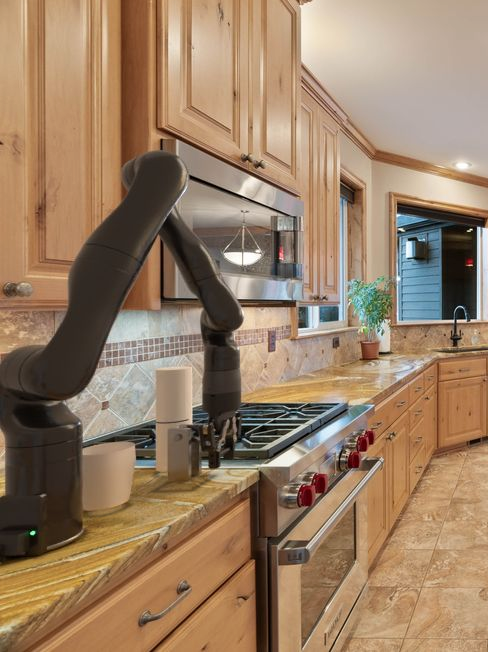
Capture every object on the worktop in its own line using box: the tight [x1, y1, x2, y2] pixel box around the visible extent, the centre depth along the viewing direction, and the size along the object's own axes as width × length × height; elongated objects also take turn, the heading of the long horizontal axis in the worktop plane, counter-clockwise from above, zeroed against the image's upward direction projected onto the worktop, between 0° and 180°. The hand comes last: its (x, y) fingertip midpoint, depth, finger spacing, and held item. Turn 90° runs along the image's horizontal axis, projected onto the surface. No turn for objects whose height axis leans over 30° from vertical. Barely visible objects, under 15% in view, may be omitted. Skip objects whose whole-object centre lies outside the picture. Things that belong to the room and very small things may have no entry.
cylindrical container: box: [155, 365, 193, 473], centre depth 112 cm, size 7×7×25 cm
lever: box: [181, 426, 232, 457], centre depth 105 cm, size 11×6×2 cm, turn 95°
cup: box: [83, 441, 137, 512], centre depth 91 cm, size 9×9×12 cm
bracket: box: [167, 423, 203, 483], centre depth 104 cm, size 8×9×13 cm
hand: (221, 463), depth 105 cm, fingers closed on lever, 5 cm apart
